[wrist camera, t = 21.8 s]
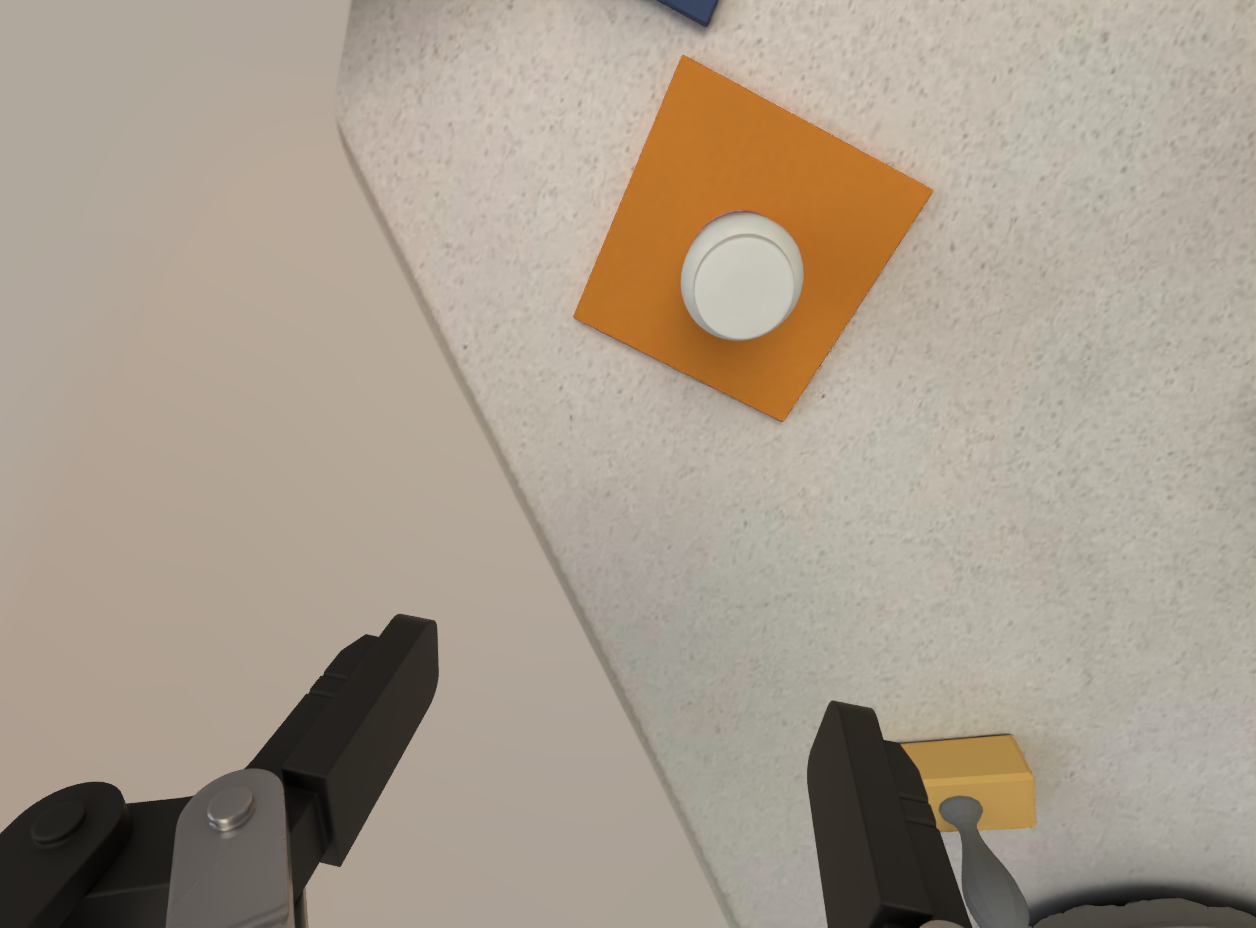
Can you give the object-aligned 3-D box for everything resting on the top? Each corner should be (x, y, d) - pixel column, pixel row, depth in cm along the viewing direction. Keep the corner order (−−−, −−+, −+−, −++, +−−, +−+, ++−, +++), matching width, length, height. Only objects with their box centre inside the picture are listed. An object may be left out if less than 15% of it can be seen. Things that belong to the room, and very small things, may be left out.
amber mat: (575, 314, 35) (572, 317, 34) (683, 57, 29) (682, 53, 28) (781, 418, 36) (783, 423, 35) (929, 190, 30) (934, 190, 29)
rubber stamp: (881, 792, 49) (926, 964, 38) (872, 743, 47) (917, 911, 36) (1015, 783, 46) (1103, 965, 36) (1012, 731, 44) (1105, 908, 33)
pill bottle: (768, 323, 33) (785, 373, 24) (676, 299, 33) (661, 340, 25) (803, 222, 31) (835, 238, 22) (703, 196, 31) (697, 202, 22)
